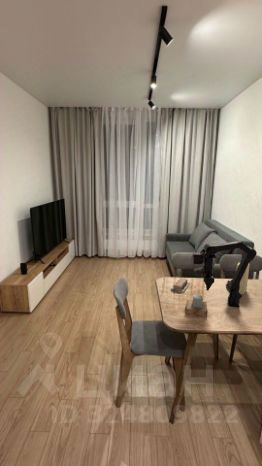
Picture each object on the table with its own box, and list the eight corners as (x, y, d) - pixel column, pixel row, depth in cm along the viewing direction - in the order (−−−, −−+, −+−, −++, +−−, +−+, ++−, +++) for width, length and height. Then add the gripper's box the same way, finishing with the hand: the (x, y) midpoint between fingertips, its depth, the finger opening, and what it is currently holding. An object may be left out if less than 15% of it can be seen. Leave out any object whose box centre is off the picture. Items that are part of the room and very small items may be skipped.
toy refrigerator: (236, 288, 188) (239, 261, 184) (246, 291, 184) (250, 263, 179) (232, 291, 182) (235, 264, 178) (243, 294, 177) (246, 266, 173)
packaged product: (184, 287, 177) (170, 284, 182) (183, 293, 178) (170, 290, 183) (190, 278, 193) (178, 276, 198) (190, 284, 194) (178, 282, 199)
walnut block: (205, 307, 159) (206, 302, 159) (207, 317, 148) (207, 311, 147) (186, 305, 162) (186, 299, 161) (186, 315, 150) (186, 308, 150)
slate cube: (201, 303, 156) (202, 295, 155) (202, 308, 151) (202, 299, 150) (192, 302, 157) (193, 294, 156) (192, 307, 152) (193, 298, 151)
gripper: (194, 258, 168) (193, 280, 171) (196, 268, 150) (194, 292, 153) (211, 259, 166) (209, 281, 169) (215, 269, 148) (213, 294, 151)
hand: (206, 287), depth 161 cm, fingers open, 9 cm apart
